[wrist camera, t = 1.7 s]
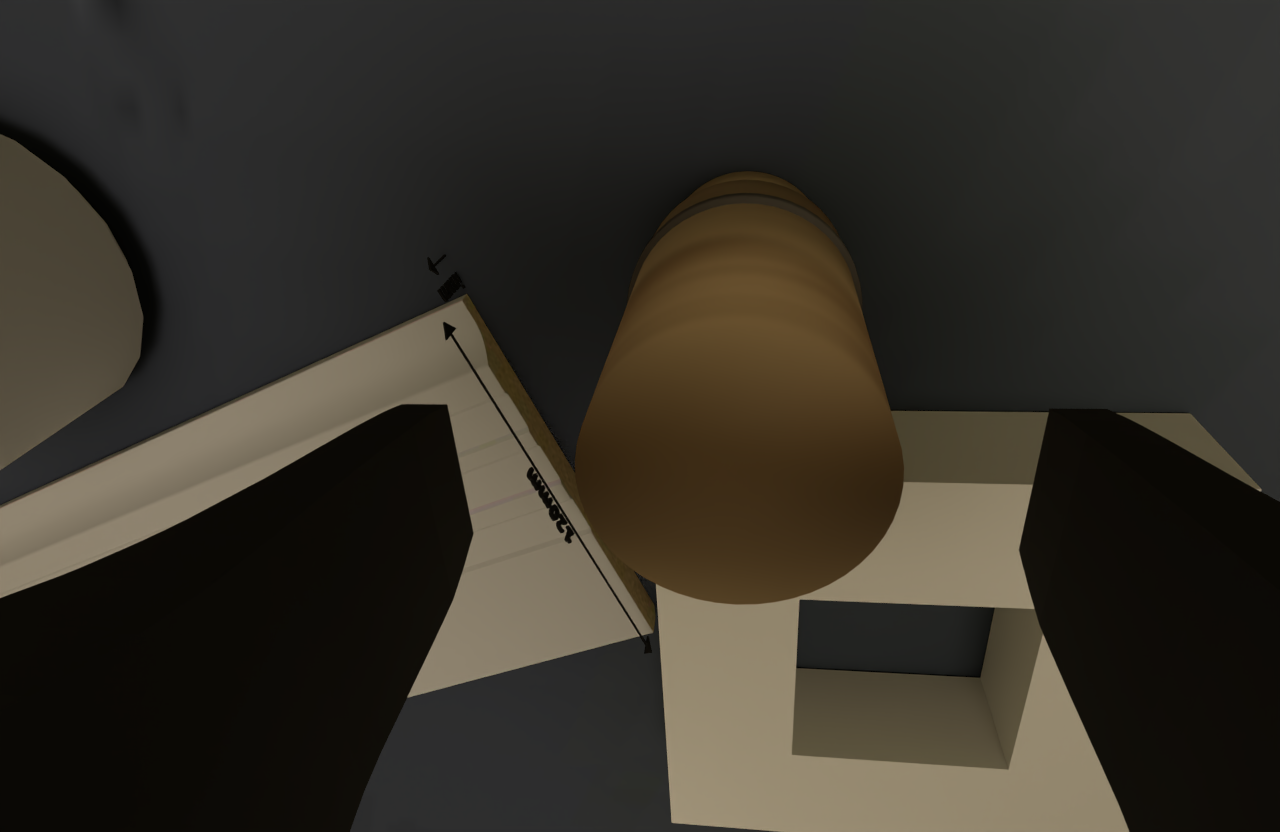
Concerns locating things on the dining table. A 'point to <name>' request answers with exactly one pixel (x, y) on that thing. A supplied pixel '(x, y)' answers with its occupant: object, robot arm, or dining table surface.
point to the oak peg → (741, 405)
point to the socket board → (890, 702)
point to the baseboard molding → (328, 407)
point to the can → (57, 304)
